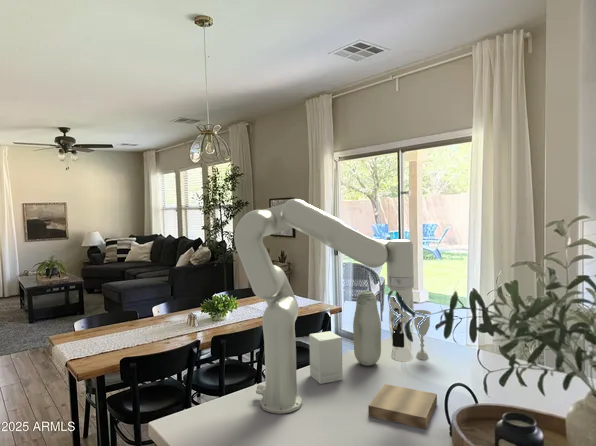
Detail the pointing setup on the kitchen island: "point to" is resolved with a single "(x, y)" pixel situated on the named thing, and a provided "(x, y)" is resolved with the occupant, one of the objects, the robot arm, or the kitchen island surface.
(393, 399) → the walnut board
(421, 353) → the chalice
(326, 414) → the kitchen island surface
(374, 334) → the grey bottle
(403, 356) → the beer glass
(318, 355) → the supplement box
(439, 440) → the kitchen island surface
